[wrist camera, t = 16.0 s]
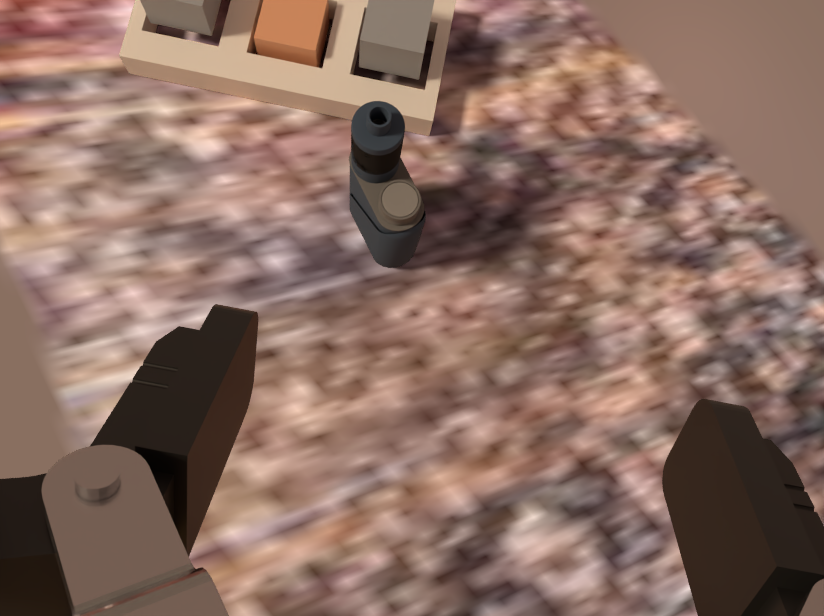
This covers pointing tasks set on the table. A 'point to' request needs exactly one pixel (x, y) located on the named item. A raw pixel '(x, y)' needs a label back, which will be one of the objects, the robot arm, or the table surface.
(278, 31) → the key mid
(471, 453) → the table surface
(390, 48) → the key right
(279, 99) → the keypad base
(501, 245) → the table surface
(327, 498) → the table surface
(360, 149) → the vaping device
